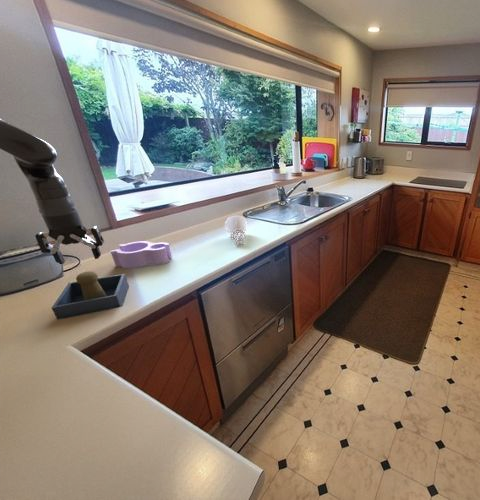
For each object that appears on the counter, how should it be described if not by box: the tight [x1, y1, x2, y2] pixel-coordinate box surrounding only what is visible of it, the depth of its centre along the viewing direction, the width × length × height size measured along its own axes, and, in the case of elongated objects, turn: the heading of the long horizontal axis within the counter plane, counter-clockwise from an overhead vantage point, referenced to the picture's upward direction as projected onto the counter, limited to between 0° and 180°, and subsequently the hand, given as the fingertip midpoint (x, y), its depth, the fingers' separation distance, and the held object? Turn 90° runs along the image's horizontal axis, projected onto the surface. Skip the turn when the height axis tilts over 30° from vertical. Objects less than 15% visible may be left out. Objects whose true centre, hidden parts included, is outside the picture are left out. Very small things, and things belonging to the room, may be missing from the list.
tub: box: [51, 273, 130, 321], centre depth 94 cm, size 16×16×6 cm
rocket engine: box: [224, 214, 248, 247], centre depth 146 cm, size 12×12×18 cm
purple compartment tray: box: [110, 240, 173, 269], centre depth 122 cm, size 20×12×7 cm, turn 101°
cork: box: [75, 270, 107, 301], centre depth 93 cm, size 6×6×11 cm
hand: (80, 260), depth 89 cm, fingers open, 8 cm apart
